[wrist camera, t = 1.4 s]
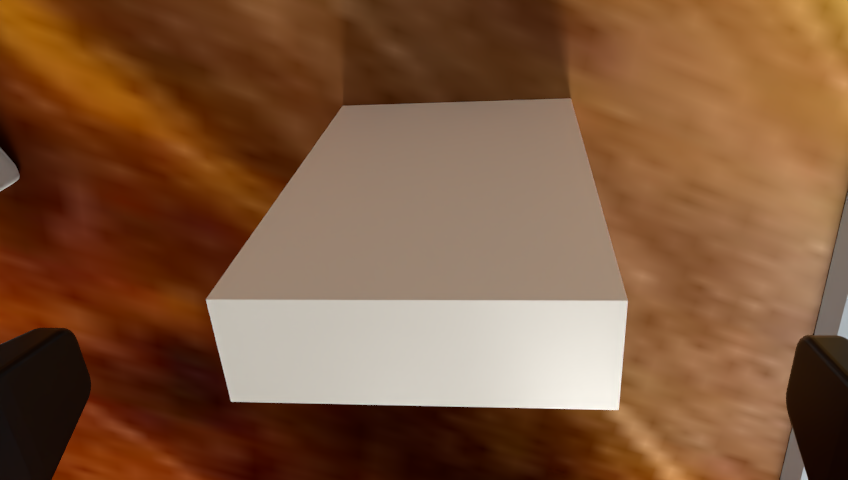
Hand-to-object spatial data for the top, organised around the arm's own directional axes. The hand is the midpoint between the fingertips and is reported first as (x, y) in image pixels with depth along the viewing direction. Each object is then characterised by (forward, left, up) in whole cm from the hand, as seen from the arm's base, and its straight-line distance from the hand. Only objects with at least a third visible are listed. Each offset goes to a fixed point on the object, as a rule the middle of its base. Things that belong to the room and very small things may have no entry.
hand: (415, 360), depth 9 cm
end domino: (0, 0, -8) cm, 8 cm away
